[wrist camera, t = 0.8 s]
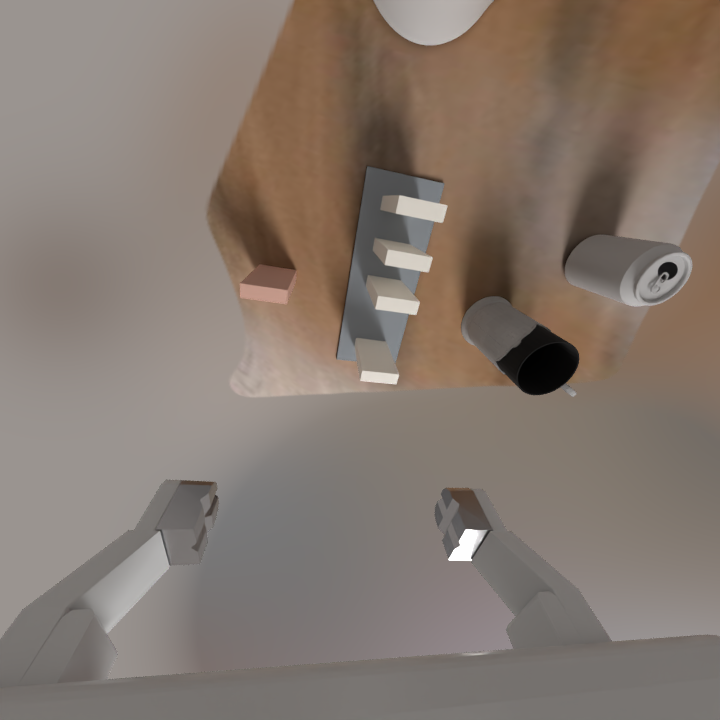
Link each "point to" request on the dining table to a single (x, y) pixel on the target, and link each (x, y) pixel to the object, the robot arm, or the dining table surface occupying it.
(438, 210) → the domino
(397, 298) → the domino
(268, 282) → the domino
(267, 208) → the dining table surface
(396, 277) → the mat
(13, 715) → the robot arm
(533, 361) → the grey mug
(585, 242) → the can
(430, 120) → the dining table surface
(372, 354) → the domino
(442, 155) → the dining table surface
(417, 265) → the domino
